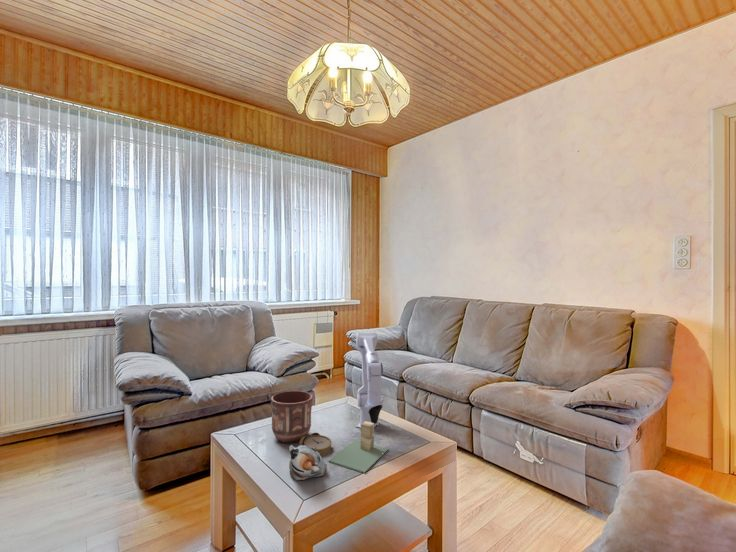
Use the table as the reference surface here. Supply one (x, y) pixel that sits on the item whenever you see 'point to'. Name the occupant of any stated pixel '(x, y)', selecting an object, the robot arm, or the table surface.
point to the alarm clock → (317, 443)
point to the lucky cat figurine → (305, 463)
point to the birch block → (367, 436)
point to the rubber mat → (358, 456)
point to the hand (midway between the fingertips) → (374, 422)
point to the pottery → (291, 415)
